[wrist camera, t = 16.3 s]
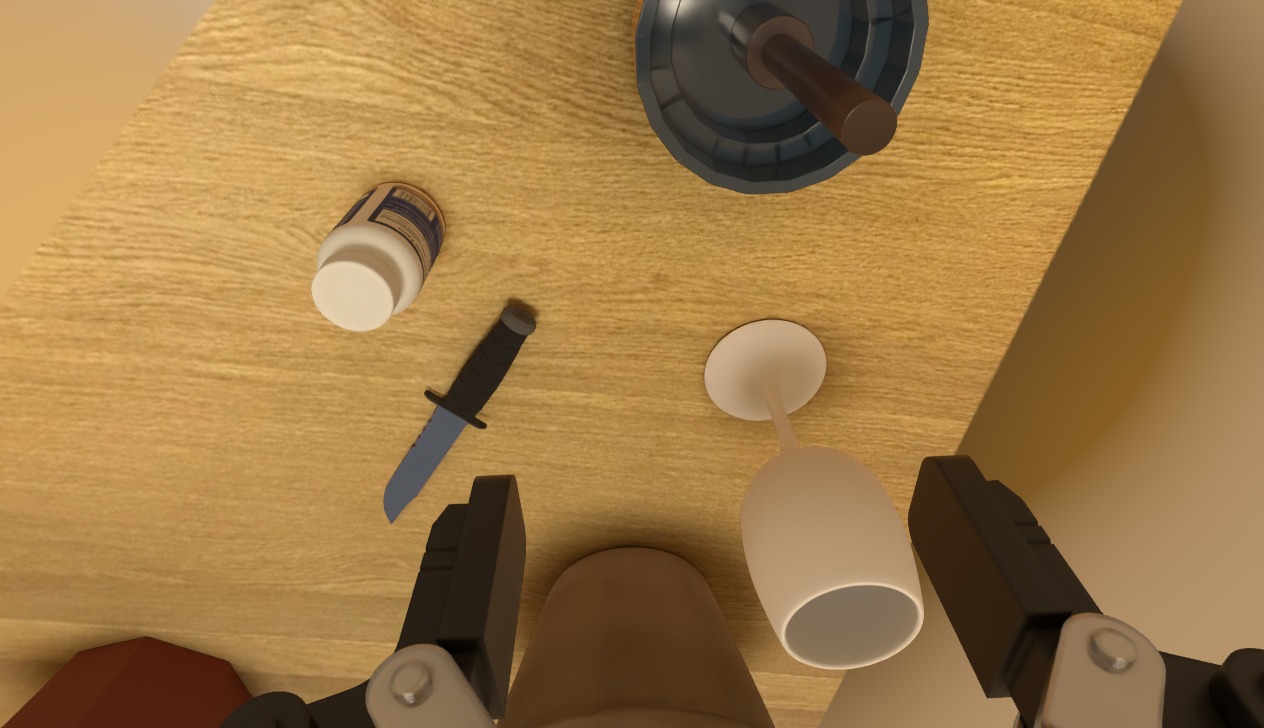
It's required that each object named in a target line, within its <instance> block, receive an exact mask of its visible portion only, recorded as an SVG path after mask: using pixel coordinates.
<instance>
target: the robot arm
mask: <svg viewBox="0 0 1264 728" xmlns="http://www.w3.org/2000/svg"><path fill="white" fill-rule="evenodd" d="M908 526H909V532H910V536H911V540H912V542H913V545H914V547H915V549H916V551H917V553H918V555H919V557H920V559H921V561H922V564H923V566H924V568H925V570H926V572H927V574H928V576H929V578H930V580H931V582H932V584H933V586H934V589H935V591H936V593H937V595H938V597H939V599H940V601H941V603H942V605H943V607H944V609H945V611H946V614H947V616H948V618H949V620H950V622H951V624H952V626H953V628H954V630H955V632H956V634H957V637H958V638H959V641H960V643H961V645H962V647H963V649H964V651H965V653H966V655H967V657H968V659H969V662H970V664H971V666H972V668H973V670H974V672H975V674H976V676H977V678H978V680H979V682H980V684H981V687H982V689H983V691H984V693H985V695H986V697H987V698H1003V697H1012V699H1013V701H1014V703H1015V705H1016V707H1017V709H1018V711H1019V712H1018V714H1017V716H1016V718H1015V721H1014V725H1013V728H1264V650H1262V649H1255V648H1245V649H1239V650H1236V651H1234V652H1233V653H1231V654H1230V655H1229V656H1228V658H1227V659H1226V660H1225V661H1224V663H1223V664H1222V665H1217V664H1213V663H1208V662H1203V661H1199V660H1195V659H1190V658H1186V657H1182V656H1177V655H1173V654H1169V653H1165V652H1162V651H1158V650H1157V649H1156V648H1155V646H1154V645H1153V644H1152V643H1151V642H1150V641H1149V640H1148V639H1147V638H1146V637H1145V636H1144V635H1143V634H1141V633H1140V632H1139V631H1137V630H1136V629H1135V628H1133V627H1131V626H1130V625H1128V624H1126V623H1124V622H1122V621H1120V620H1118V619H1116V618H1113V617H1110V616H1107V615H1104V614H1103V613H1102V612H1101V611H1100V609H1099V608H1098V606H1097V605H1096V604H1095V602H1094V601H1093V599H1092V598H1091V596H1090V595H1089V594H1088V592H1087V591H1086V589H1085V588H1084V587H1083V585H1082V584H1081V582H1080V581H1079V579H1078V578H1077V576H1076V575H1075V574H1074V572H1073V571H1072V569H1071V568H1070V567H1069V565H1068V564H1067V562H1066V561H1065V559H1064V558H1063V557H1062V555H1061V554H1060V552H1059V551H1058V550H1057V548H1056V547H1055V545H1054V544H1051V542H1050V538H1049V537H1048V535H1047V534H1046V532H1045V531H1044V529H1043V528H1042V527H1041V526H1038V521H1037V520H1036V518H1035V517H1034V515H1033V514H1032V513H1031V511H1030V510H1029V508H1028V507H1027V505H1026V504H1025V502H1024V501H1023V500H1022V499H1021V498H1020V497H1019V496H1017V495H1016V494H1015V493H1014V492H1012V491H1011V490H1010V489H1008V488H1007V487H1006V486H1004V485H1003V484H1002V483H1000V482H999V481H998V480H993V481H986V479H985V478H984V476H983V475H982V473H981V472H980V470H979V469H978V468H977V466H976V464H975V463H974V462H973V460H972V459H971V458H970V457H969V456H967V455H951V456H930V457H926V458H924V460H923V461H922V464H921V467H920V471H919V475H918V479H917V482H916V486H915V490H914V493H913V497H912V501H911V505H910V508H909V513H908ZM525 557H526V534H525V526H524V520H523V515H522V509H521V504H520V498H519V493H518V487H517V482H516V478H515V475H492V476H477V477H476V478H475V479H474V482H473V486H472V490H471V495H470V499H469V503H468V504H449V505H448V506H447V507H446V509H445V510H444V511H443V512H442V514H441V515H440V516H439V517H438V519H437V520H436V521H435V522H434V524H433V525H432V528H431V531H430V535H429V538H428V542H427V545H426V553H424V556H423V559H422V563H421V566H420V572H419V573H418V576H417V580H416V583H415V587H414V590H413V594H412V597H411V601H410V604H409V608H408V611H407V614H406V618H405V621H404V625H403V628H402V632H401V635H400V639H399V642H398V645H397V647H396V649H395V651H394V653H393V654H392V655H391V656H389V657H388V658H387V659H386V660H384V661H383V662H382V663H381V664H380V665H379V667H378V668H377V669H376V670H375V672H374V673H373V675H372V676H371V678H370V679H368V680H367V681H365V682H364V683H362V684H360V685H358V686H356V687H354V688H351V689H349V690H346V691H343V692H341V693H338V694H335V695H332V696H329V697H326V698H324V699H321V700H318V701H315V702H312V703H309V704H307V705H306V703H305V702H304V701H303V700H302V699H301V698H300V697H298V696H297V695H295V694H292V693H289V692H271V693H266V694H263V695H260V696H258V697H255V698H253V699H251V700H249V701H248V702H246V703H244V704H243V705H241V706H240V707H239V708H237V709H236V710H235V711H233V712H232V713H231V714H230V715H229V716H228V717H227V718H226V719H225V720H224V722H223V723H222V724H221V725H220V726H219V728H498V727H497V726H496V724H495V723H494V721H493V720H492V719H505V712H506V704H507V696H508V689H509V681H510V673H511V666H512V658H513V650H514V643H515V635H516V627H517V620H518V612H519V604H520V597H521V589H522V581H523V573H524V566H525Z"/></svg>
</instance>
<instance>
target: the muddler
mask: <svg viewBox="0 0 1264 728" xmlns="http://www.w3.org/2000/svg"><path fill="white" fill-rule="evenodd" d="M730 44H731V49H732V52H733V55H734V57H735V58H736V60H737V61H738V62H739V63H740V64H741V66H742V67H743V68H744V69H745V70H746V71H747V73H748V74H749V75H750V76H751V77H752V78H753V80H754V81H755V82H756V83H757V84H759V85H760V86H762V87H764V88H767V89H771V90H781V89H785V88H787V89H788V90H789V91H790V92H791V93H792V94H793V95H794V96H795V97H796V98H797V99H798V100H799V101H800V102H801V103H802V104H803V105H804V106H805V107H806V108H807V109H808V110H809V111H810V112H811V113H812V114H813V115H814V116H815V117H816V118H817V119H818V120H819V121H820V122H821V123H822V124H823V125H824V126H825V127H826V128H827V129H828V130H829V131H830V132H831V133H832V134H833V135H834V136H835V137H836V138H837V139H838V140H839V141H840V142H841V143H842V144H843V145H844V146H845V147H846V148H847V149H848V150H849V151H850V152H852V153H854V154H856V155H861V156H866V155H871V154H874V153H877V152H879V151H880V150H882V149H883V148H884V147H886V146H887V145H888V143H889V142H890V141H891V139H892V138H893V136H894V134H895V131H896V127H897V116H896V112H895V110H894V108H893V107H892V106H891V105H890V104H889V103H888V102H886V101H885V100H883V99H882V98H880V97H879V96H878V95H876V94H875V93H873V92H872V91H870V90H869V89H867V88H866V87H864V86H863V85H862V84H860V83H859V82H857V81H856V80H854V79H853V78H851V77H850V76H848V75H847V74H846V73H844V72H843V71H841V70H840V69H838V68H837V67H835V66H834V65H832V64H831V63H830V62H828V61H827V60H825V59H824V58H822V57H821V56H819V55H818V54H816V53H815V52H814V50H815V46H814V39H813V36H812V33H811V31H810V29H809V28H808V26H807V25H806V24H805V23H804V22H803V21H801V20H800V19H798V18H796V17H795V16H793V15H791V14H789V13H788V12H786V11H784V10H782V9H780V8H779V7H777V6H775V5H772V4H768V3H759V4H755V5H753V6H750V7H749V8H747V9H746V10H744V11H743V12H742V13H741V14H740V15H739V17H738V18H737V19H736V21H735V23H734V25H733V27H732V31H731V36H730Z"/></svg>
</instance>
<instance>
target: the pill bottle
mask: <svg viewBox="0 0 1264 728" xmlns="http://www.w3.org/2000/svg"><path fill="white" fill-rule="evenodd" d="M444 236H445V225H444V221H443V217H442V215H441V212H440V211H439V209H438V207H437V206H436V204H435V203H434V202H433V201H432V200H431V199H430V198H429V197H428V196H427V195H426V194H425V193H423V192H422V191H420V190H418V189H416V188H414V187H412V186H410V185H406V184H403V183H385V184H381V185H378V186H375V187H373V188H371V189H370V190H369V191H367V192H366V193H365V194H364V195H363V196H362V197H361V198H360V199H359V200H358V201H357V202H356V203H355V205H354V206H353V207H352V208H351V209H350V211H349V212H348V213H347V214H346V215H345V216H344V217H343V219H342V220H341V221H340V222H339V223H338V224H337V225H336V226H335V227H334V228H333V230H332V231H331V232H330V233H329V234H328V235H327V237H326V238H325V240H324V241H323V243H322V245H321V247H320V249H319V252H318V256H317V273H316V274H315V276H314V278H313V281H312V286H311V291H312V297H313V300H314V302H315V305H316V306H317V308H318V310H319V311H320V312H321V313H322V314H323V315H324V317H326V318H327V319H328V320H329V321H330V322H332V323H334V324H336V325H337V326H339V327H341V328H344V329H347V330H352V331H369V330H373V329H376V328H378V327H380V326H382V325H383V324H384V323H385V322H386V321H387V320H388V319H389V318H390V316H392V315H395V314H397V313H399V312H401V311H403V310H404V309H406V308H407V307H408V306H409V305H411V303H412V302H413V301H414V300H415V298H416V297H417V295H418V294H419V292H420V290H421V288H422V286H423V284H424V282H425V280H426V277H427V275H428V274H429V272H430V270H431V267H432V266H433V263H434V262H435V259H436V257H437V255H438V253H439V251H440V248H441V246H442V244H443V241H444Z"/></svg>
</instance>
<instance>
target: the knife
mask: <svg viewBox="0 0 1264 728" xmlns="http://www.w3.org/2000/svg"><path fill="white" fill-rule="evenodd" d="M535 329H536V321H535V319H534V318H533V316H532V315H531V314H530V313H528V312H527V311H525V310H524V309H522V308H520V307H517V306H508V307H506V308H505V309H504V310H503V312H502V316H501V320H500V321H499V322H498V324H497V325H496V326H495V328H494V329H493V330H492V331H491V332H490V334H489V335H488V336H487V337H486V338H485V340H484V341H483V342H482V343H481V344H480V346H479V347H478V348H477V350H476V351H475V352H474V354H473V355H472V356H471V358H470V359H469V360H468V362H467V363H466V364H465V366H464V367H463V369H462V370H461V372H460V374H459V375H458V377H457V379H456V380H455V382H454V383H453V386H452V387H451V389H450V390H449V392H448V396H447V397H446V398H445V399H443V398H441V397H440V396H438V395H436V394H434V393H433V392H431V391H429V390H426V391H425V392H424V395H425V396H426V398H427V399H428V400H430V401H431V402H433V403H435V404H436V405H438V407H437V409H436V410H435V412H434V414H433V415H432V417H431V420H432V421H431V422H428V424H427V425H426V426H425V428H426V430H423V431H422V433H421V434H420V437H421V438H418V439H417V441H416V442H415V446H414V447H412V448H411V449H410V451H409V452H408V454H407V455H406V457H405V458H404V460H403V461H402V463H401V465H400V466H399V468H398V469H397V471H396V472H395V474H394V475H393V477H392V478H391V480H390V481H389V483H388V485H387V487H386V490H385V493H384V510H385V512H386V515H387V517H388V519H389V521H390V522H391V524H392V523H393V522H394V520H395V519H396V518H397V516H398V515H399V514H400V513H401V511H402V510H403V509H404V508H405V507H406V505H407V504H408V503H409V502H410V501H411V500H413V499H414V498H415V497H416V496H417V495H418V493H419V492H420V490H421V489H422V488H423V486H424V485H425V483H426V482H427V481H428V479H429V478H430V476H431V475H432V473H433V472H434V471H435V469H436V468H437V466H438V465H439V463H440V462H441V460H442V459H443V458H444V456H445V455H446V453H447V452H448V450H449V449H450V448H451V446H452V445H453V443H454V442H455V440H456V439H457V437H458V436H459V435H460V433H461V432H462V430H463V429H464V427H465V426H466V425H467V423H469V424H471V425H472V426H474V427H476V428H478V429H486V427H487V424H486V423H484V422H482V421H480V420H479V419H477V418H475V416H476V414H477V413H478V412H479V411H480V410H481V409H482V407H483V406H484V405H485V404H486V402H487V401H488V400H489V398H490V397H491V395H492V394H493V393H494V391H495V390H496V389H497V387H498V386H499V384H500V383H501V381H502V380H503V378H504V376H505V375H506V373H507V371H508V370H509V368H510V366H511V364H512V362H513V361H514V359H515V357H516V355H517V353H518V352H519V350H520V348H521V345H522V344H523V342H524V341H525V339H526V338H527V336H528V335H530V334H531V333H533V332H534V331H535Z"/></svg>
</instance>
